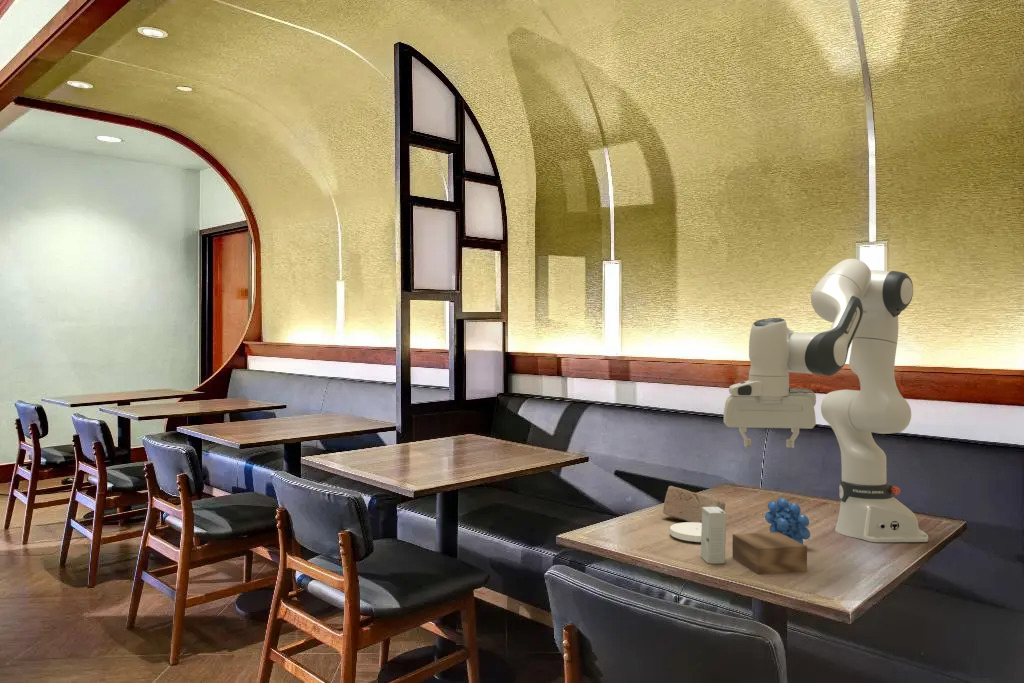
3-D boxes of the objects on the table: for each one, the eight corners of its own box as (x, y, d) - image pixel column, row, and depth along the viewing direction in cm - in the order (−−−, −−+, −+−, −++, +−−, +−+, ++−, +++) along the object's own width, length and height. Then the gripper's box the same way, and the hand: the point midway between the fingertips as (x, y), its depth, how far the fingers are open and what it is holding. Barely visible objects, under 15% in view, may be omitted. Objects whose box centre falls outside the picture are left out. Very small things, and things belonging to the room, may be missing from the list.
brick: (726, 500, 201) (718, 498, 198) (719, 530, 200) (711, 528, 197) (675, 487, 213) (667, 484, 210) (669, 515, 212) (660, 513, 209)
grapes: (757, 544, 185) (757, 497, 185) (769, 539, 190) (769, 493, 190) (802, 554, 177) (802, 505, 177) (813, 548, 182) (814, 500, 182)
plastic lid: (659, 538, 191) (659, 529, 191) (687, 528, 202) (687, 519, 201) (707, 549, 182) (707, 539, 182) (734, 538, 192) (734, 528, 192)
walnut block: (778, 556, 176) (778, 532, 176) (806, 572, 164) (806, 546, 164) (732, 559, 174) (732, 534, 174) (757, 575, 162) (757, 548, 162)
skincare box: (700, 556, 175) (700, 506, 175) (718, 556, 175) (718, 506, 175) (707, 564, 169) (708, 512, 169) (726, 564, 169) (727, 512, 169)
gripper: (812, 387, 170) (812, 445, 170) (722, 386, 173) (722, 444, 173) (819, 389, 164) (819, 450, 164) (725, 388, 167) (725, 448, 167)
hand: (768, 447), depth 169 cm, fingers open, 8 cm apart
